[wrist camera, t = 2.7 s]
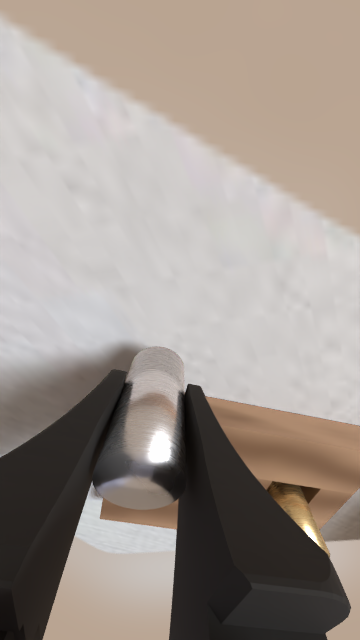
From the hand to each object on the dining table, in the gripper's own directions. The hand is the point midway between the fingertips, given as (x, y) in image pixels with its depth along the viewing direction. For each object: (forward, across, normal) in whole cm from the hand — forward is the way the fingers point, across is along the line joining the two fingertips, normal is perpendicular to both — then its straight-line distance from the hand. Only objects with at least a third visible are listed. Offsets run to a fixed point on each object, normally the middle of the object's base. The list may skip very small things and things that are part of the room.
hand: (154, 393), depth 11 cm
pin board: (+5, -8, +11) cm, 14 cm away
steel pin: (+2, 0, 0) cm, 2 cm away
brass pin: (+5, -13, +11) cm, 18 cm away
